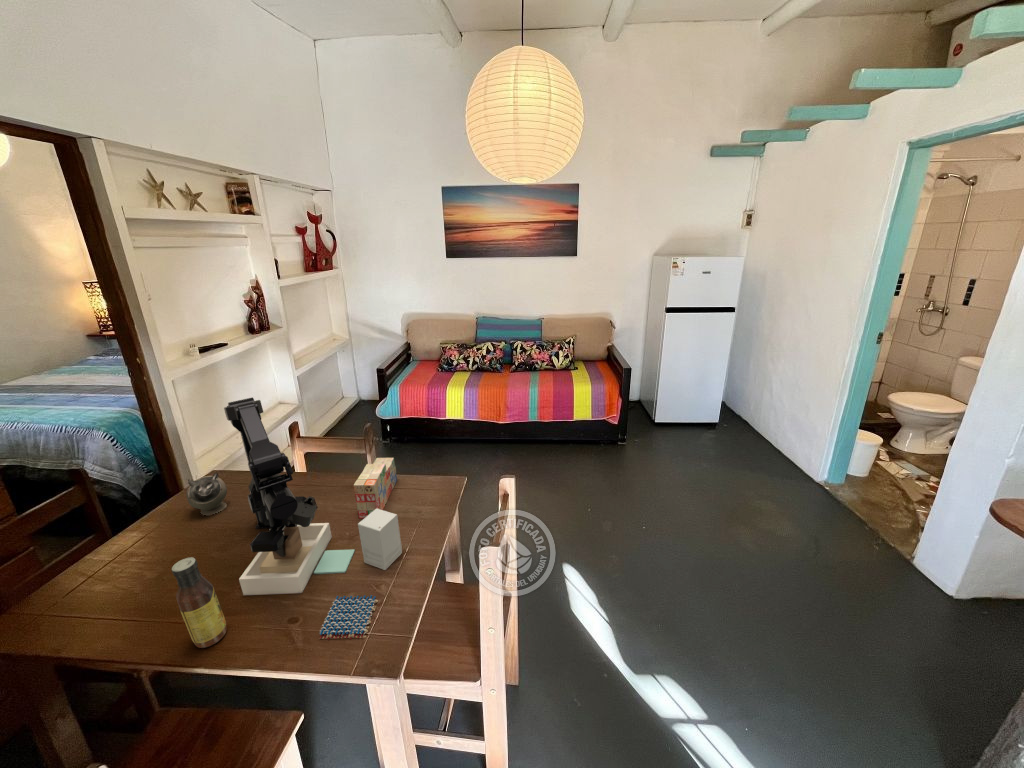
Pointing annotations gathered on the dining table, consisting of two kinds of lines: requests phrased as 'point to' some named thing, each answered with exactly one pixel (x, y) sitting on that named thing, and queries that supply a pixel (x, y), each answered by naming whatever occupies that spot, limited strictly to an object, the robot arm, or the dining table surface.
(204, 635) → the sauce bottle
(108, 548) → the dining table surface
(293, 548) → the walnut block
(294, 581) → the crate
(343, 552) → the teal pad
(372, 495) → the stack of blocks
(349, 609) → the woven mat
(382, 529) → the supplement box
